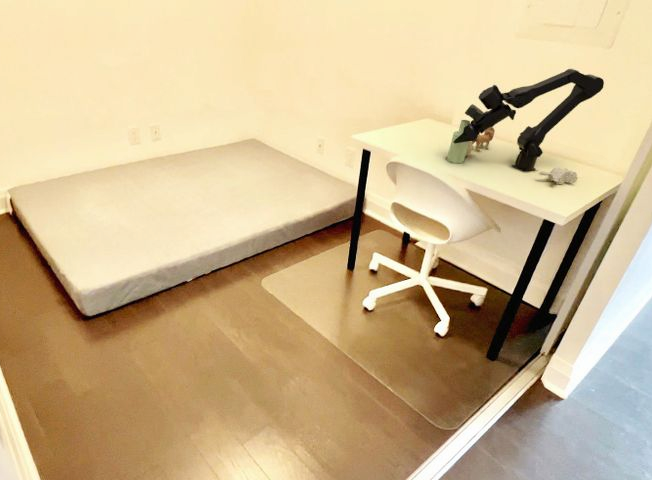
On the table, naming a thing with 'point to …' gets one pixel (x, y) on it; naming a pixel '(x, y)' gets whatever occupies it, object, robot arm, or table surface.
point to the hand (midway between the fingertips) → (456, 139)
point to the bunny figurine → (561, 175)
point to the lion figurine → (484, 138)
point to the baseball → (469, 148)
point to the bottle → (458, 145)
